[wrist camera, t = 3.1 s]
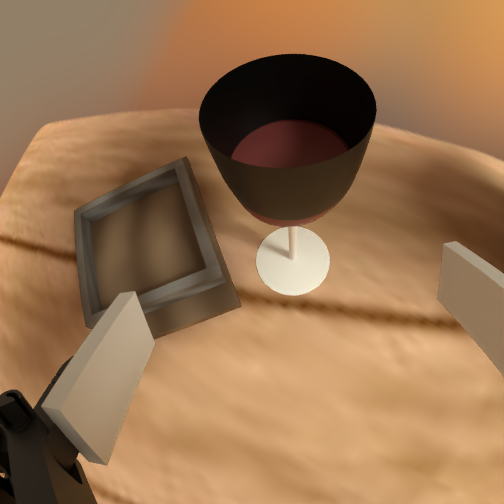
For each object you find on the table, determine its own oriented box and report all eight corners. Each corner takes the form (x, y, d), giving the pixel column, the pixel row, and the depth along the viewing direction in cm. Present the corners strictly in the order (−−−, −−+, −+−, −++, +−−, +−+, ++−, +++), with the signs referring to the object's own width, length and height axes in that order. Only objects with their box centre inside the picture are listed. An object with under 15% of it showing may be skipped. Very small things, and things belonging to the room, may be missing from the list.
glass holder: (189, 162, 38) (180, 143, 34) (241, 306, 29) (234, 296, 26) (85, 211, 37) (70, 197, 34) (106, 355, 29) (87, 351, 26)
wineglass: (346, 243, 31) (396, 82, 12) (305, 315, 28) (328, 202, 10) (281, 210, 33) (264, 43, 15) (236, 275, 31) (162, 132, 12)
